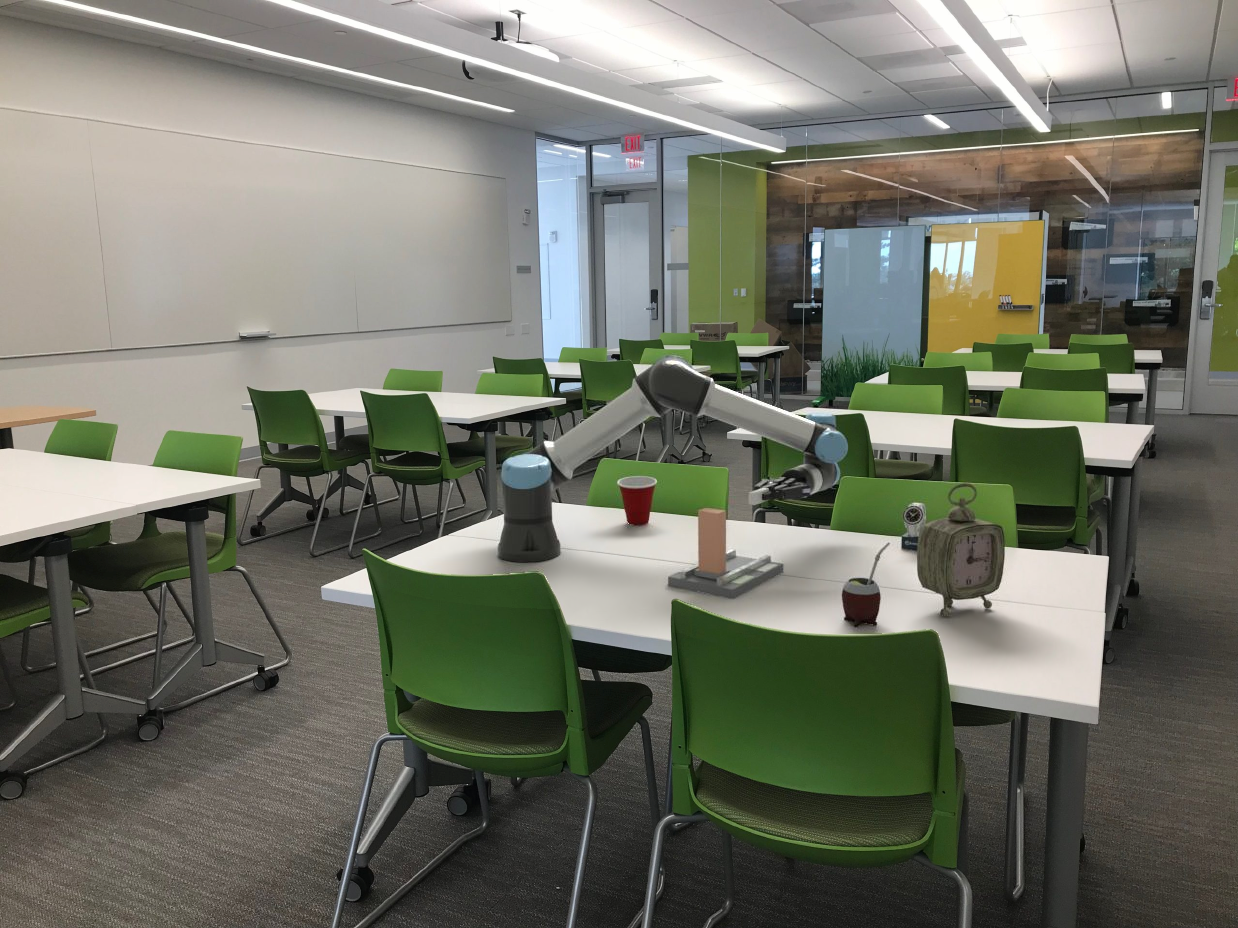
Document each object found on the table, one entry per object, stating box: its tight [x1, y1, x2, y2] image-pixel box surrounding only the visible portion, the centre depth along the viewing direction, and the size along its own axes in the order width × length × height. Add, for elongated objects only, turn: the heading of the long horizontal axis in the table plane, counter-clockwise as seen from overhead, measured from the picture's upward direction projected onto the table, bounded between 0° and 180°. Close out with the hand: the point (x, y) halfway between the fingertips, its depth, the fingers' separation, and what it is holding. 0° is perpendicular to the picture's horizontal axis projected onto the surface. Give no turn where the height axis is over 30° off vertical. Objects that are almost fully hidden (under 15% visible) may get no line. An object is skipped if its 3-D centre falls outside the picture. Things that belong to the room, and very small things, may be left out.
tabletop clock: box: [916, 482, 1006, 618], centre depth 183 cm, size 14×9×25 cm, turn 114°
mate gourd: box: [841, 542, 891, 628], centre depth 178 cm, size 8×8×15 cm
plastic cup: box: [616, 475, 658, 526], centre depth 257 cm, size 11×11×12 cm
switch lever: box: [694, 507, 730, 580], centre depth 201 cm, size 6×4×14 cm, turn 53°
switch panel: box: [667, 548, 785, 600], centre depth 207 cm, size 16×22×4 cm
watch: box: [900, 502, 927, 552], centre depth 227 cm, size 6×8×11 cm
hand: (751, 498), depth 212 cm, fingers closed
